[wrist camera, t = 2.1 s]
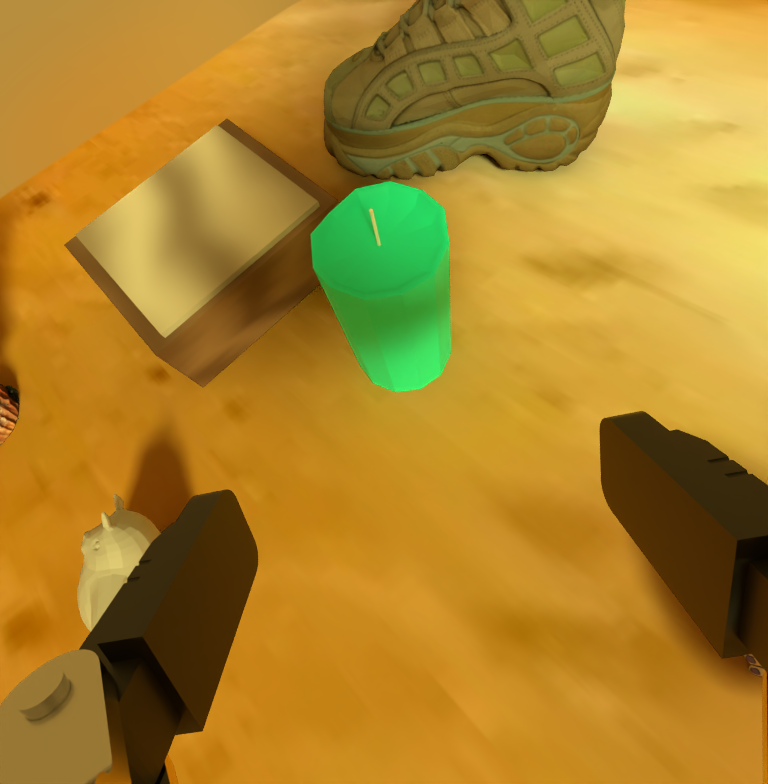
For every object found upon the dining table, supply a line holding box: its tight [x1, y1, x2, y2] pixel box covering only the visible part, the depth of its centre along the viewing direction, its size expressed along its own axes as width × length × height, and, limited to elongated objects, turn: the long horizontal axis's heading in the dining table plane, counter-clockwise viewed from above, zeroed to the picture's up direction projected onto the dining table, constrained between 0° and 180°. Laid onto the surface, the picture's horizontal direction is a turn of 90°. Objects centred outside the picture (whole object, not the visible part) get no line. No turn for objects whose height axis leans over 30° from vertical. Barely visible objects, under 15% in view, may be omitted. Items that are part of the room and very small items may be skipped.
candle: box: [310, 181, 451, 392], centre depth 22 cm, size 6×6×12 cm
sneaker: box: [324, 0, 626, 180], centre depth 27 cm, size 11×19×15 cm, turn 69°
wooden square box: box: [65, 119, 338, 387], centre depth 30 cm, size 14×12×5 cm
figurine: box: [77, 495, 161, 631], centre depth 22 cm, size 8×6×8 cm
